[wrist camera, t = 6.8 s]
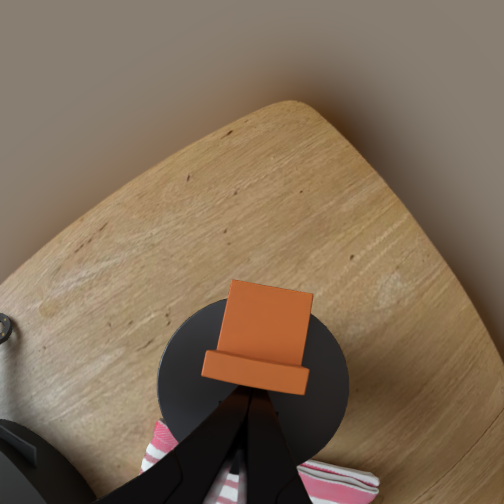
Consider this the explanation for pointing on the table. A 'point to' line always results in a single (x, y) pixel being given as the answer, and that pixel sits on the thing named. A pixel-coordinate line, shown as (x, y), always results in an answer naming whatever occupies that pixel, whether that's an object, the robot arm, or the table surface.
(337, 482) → the dish towel
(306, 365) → the travel mug
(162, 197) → the table surface
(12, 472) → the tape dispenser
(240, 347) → the slider
